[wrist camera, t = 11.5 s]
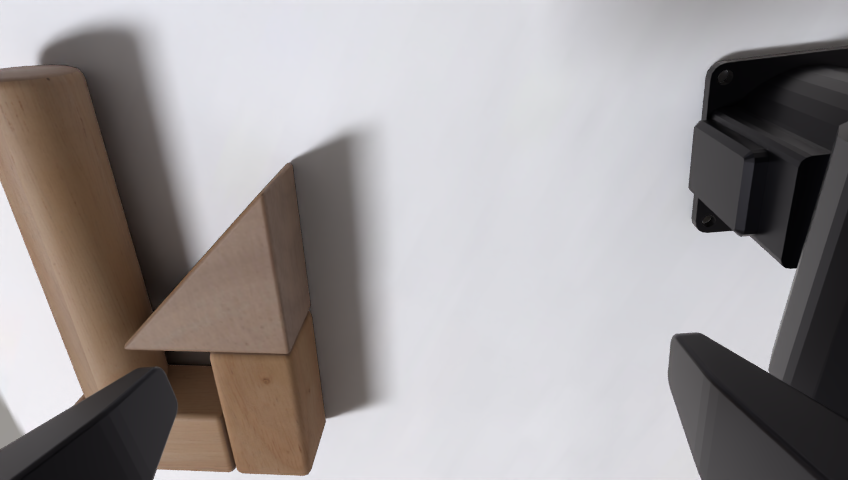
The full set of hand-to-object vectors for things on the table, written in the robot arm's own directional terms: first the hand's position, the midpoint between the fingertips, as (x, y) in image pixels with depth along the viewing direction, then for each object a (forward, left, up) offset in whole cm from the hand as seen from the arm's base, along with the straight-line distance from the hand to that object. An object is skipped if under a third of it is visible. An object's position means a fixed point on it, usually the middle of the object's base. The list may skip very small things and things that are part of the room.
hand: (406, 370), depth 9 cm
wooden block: (+13, +13, -11) cm, 22 cm away
